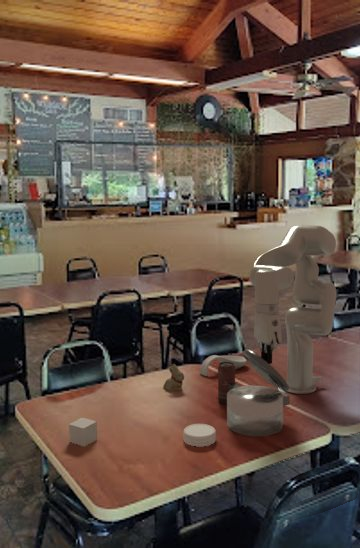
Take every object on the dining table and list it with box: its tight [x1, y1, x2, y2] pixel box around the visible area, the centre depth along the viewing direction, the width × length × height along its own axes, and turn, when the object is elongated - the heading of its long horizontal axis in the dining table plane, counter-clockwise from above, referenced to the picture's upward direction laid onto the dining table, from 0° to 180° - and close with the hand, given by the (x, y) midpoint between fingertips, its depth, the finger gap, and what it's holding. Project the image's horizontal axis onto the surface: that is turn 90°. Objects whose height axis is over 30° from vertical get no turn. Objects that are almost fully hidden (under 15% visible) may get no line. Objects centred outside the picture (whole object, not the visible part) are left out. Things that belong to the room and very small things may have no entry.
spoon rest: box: [199, 354, 248, 377], centre depth 239 cm, size 24×12×7 cm, turn 130°
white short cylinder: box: [182, 423, 217, 448], centre depth 172 cm, size 10×10×4 cm
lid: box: [241, 348, 289, 394], centre depth 182 cm, size 19×19×4 cm
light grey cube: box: [68, 417, 98, 448], centre depth 173 cm, size 6×6×6 cm
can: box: [217, 362, 236, 405], centre depth 203 cm, size 6×6×14 cm
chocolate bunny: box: [162, 363, 185, 392], centre depth 216 cm, size 6×8×10 cm
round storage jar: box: [226, 381, 290, 437], centre depth 186 cm, size 20×26×10 cm
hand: (266, 363), depth 182 cm, fingers closed
